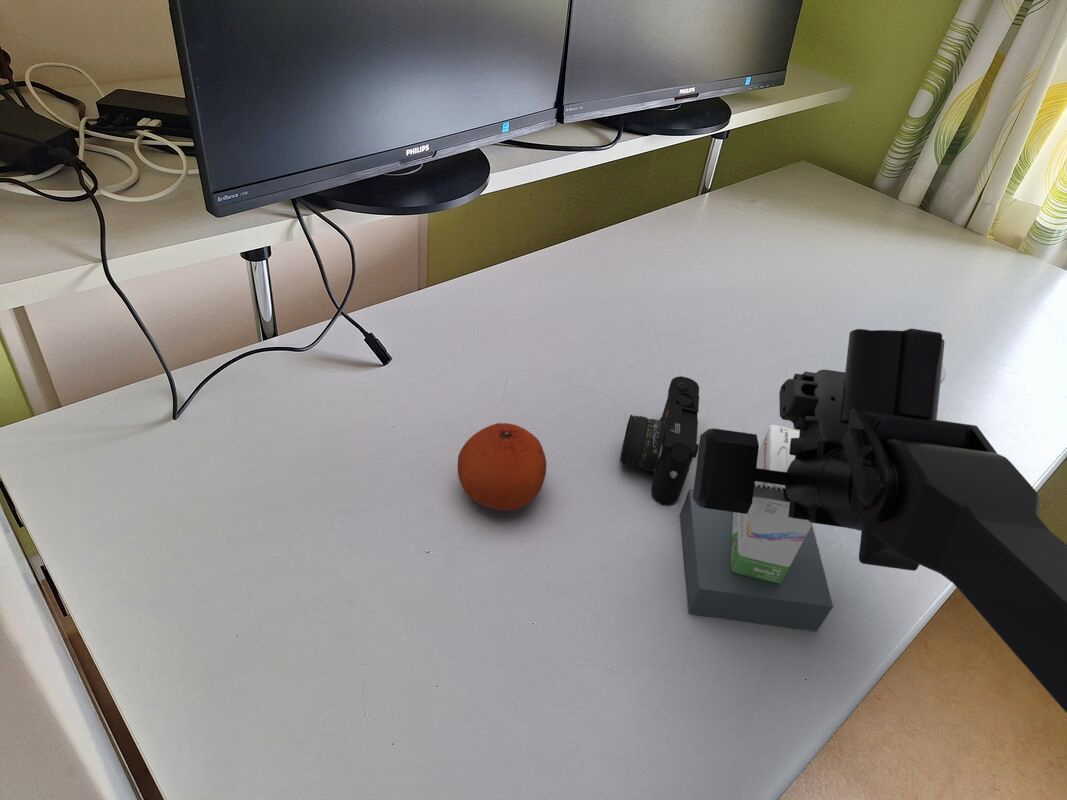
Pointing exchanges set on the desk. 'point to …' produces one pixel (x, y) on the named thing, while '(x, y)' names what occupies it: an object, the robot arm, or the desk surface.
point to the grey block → (741, 596)
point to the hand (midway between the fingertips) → (780, 479)
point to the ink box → (768, 519)
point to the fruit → (502, 467)
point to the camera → (666, 441)
